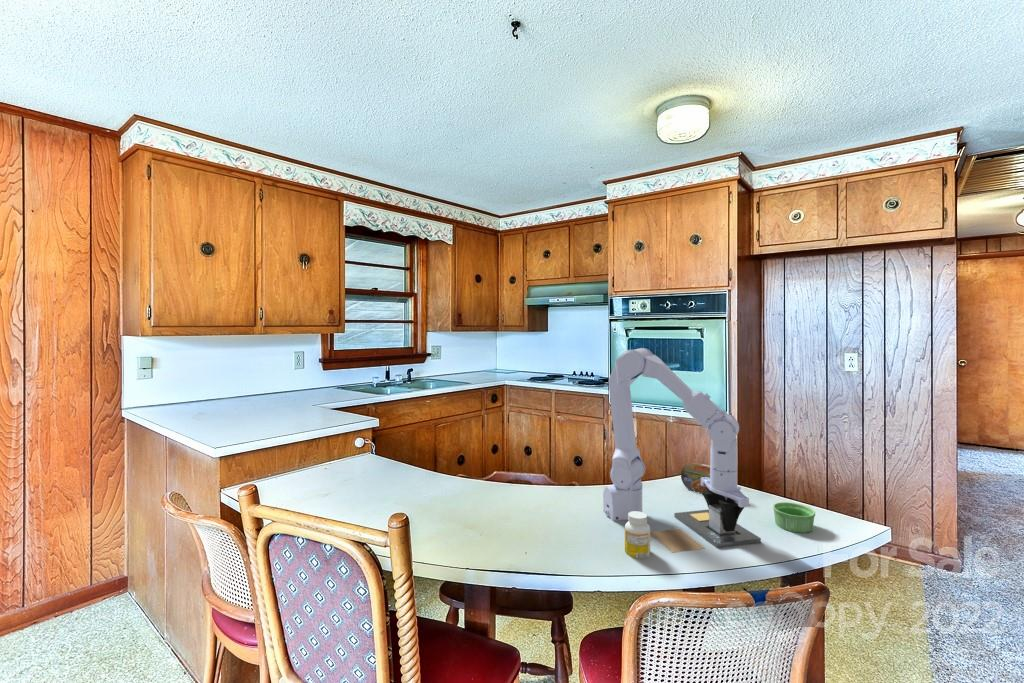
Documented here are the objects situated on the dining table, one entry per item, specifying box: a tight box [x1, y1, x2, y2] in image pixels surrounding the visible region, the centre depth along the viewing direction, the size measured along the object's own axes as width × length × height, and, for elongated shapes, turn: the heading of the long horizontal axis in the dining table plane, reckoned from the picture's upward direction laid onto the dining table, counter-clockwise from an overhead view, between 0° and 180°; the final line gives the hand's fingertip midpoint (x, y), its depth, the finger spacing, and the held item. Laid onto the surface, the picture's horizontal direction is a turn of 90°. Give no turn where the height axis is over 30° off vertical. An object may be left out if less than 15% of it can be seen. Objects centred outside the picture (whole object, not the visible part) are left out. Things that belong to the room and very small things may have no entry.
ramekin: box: [772, 501, 816, 534], centre depth 118 cm, size 9×9×4 cm
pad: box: [650, 528, 706, 553], centre depth 108 cm, size 8×10×2 cm
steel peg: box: [708, 504, 735, 537], centre depth 110 cm, size 4×4×6 cm
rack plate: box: [673, 509, 762, 549], centre depth 113 cm, size 11×17×3 cm, turn 12°
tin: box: [680, 462, 710, 494], centre depth 140 cm, size 15×3×8 cm, turn 42°
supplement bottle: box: [624, 511, 651, 559], centre depth 102 cm, size 5×5×10 cm
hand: (723, 526), depth 110 cm, fingers closed on steel peg, 4 cm apart
